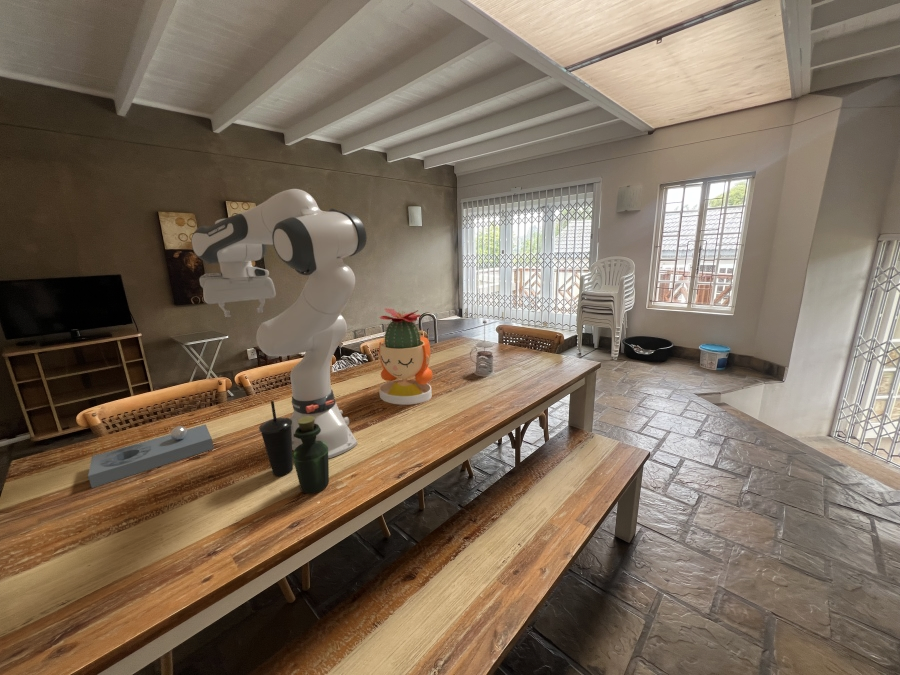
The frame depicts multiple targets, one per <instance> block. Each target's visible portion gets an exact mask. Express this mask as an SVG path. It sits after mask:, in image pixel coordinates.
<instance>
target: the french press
mask: <svg viewBox="0 0 900 675" xmlns="http://www.w3.org/2000/svg"><path fill="white" fill-rule="evenodd" d="M487 323H488V322H487V320H482V324H484V326H483V327H484V329H483V330H484V333H483V334H484V336H483V338H484V340H481V341H479V342H477V343H475V346H476V347H473V348H472V349H471V350H470V352H469V358H470V361H471V362H473V363H474V364H475V371H473V372H474V375H476V376H478V377H491V376H494V375H495V374H496V372H495V371H494V355H493V352H492V351H490V350H486V348H493V346H494V344H493V343H492V342H491V341H488V340H486V324H487ZM477 347H478V348H482V349H483V348H484V349H483V350H479V351H477V350H478V348H477ZM474 350H475V351H477V352H476V356H475V357H476V361H474V360H473V359H472V356H471V355H472V353H473V351H474Z"/></svg>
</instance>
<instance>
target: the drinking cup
mask: <svg viewBox="0 0 900 675" xmlns="http://www.w3.org/2000/svg"><path fill="white" fill-rule="evenodd" d="M270 406H271V412H272V418H271V419H269V420H266V421H264V422H263V423H261V424H260V425H259V428H258V430H259V432H260V433H261V436H262V440H263V443H264V447H265V451H266V454H267V458H268V460H269V464H270V468H271V470H272V472H271V473H272V474H273V476H275V477H283V476H287V475H289V474H290V473H291V472H292V471H293V469H294V461H293V457H292V455H293V450H292V432H291V425H292V420H291V419H289V418H290V417H289V418H288V417H277V414H276V408H275V402H274V400H271V401H270Z"/></svg>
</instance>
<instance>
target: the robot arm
mask: <svg viewBox="0 0 900 675" xmlns="http://www.w3.org/2000/svg"><path fill="white" fill-rule="evenodd" d="M367 239H368V238H367V231H366V228H365V225H364V223H363V222H362V220H361V219H360V218H359V217H358V216H356V215H355V214H353V213H349V212H346V211H340V210H338V209H335V208H330V209H329V210H328V211H324V210H321V209H320V207H319V206H318V204H317V201H316V200H315V198H314V197H313V196H312V195H311V194H310V193H308V192H307V191H305V190H303V189H299V188H291V189H286V190H283V191H280V192H278V193H276V194H273V195H272V196H270V197H269V198H267V199H266V200H264V201H263V202H262V203H260V204H258V205H256V206H254V207H251V208H249V209H247V210H245V211H241V212H240V213H236V214H234V215H231V216H228V217H224V218H219V219H218V220H216V221H214V224H212V225H210V226H202V225H200V226H199V227H198V228H197V229H195V231H194V232H193V233H192V236H191V248H192V251H193V253H194V254H195V256H196V257H197V258H199V259H200V260H201V261H203V262H204V263H206V264H208V265H209V264H211V265H212V264H218V263H219V264H218V265H219V269H220V272H214V273H213V272H212V273H204V274H203V275H201V276H200V277H199V280H198V281H199V285H200V287H201V288H202V290H203V293H202V294H203V301H204V302H205V303H206V304H207V305H213V304H214V305H215V304H218V307H219V308H220V309H221V310H222V311H223V313H224V317H225V318H227V317H232V315H231V311H230V310H228V309H226V308H225V307H226V306H225V305H226V304H225V303H234V302H235V303H236V302H244V301H255V300H258V302H259V306H258V307H256V313H257V314H261V313H262V314H263V313H264V308H263V307H264V305H265V304H266V299H267V300H268V299H274V298H275V297H276V294H277V293H276V289H275V288H276V287H275V284H274V282H273V279H272V278H270V271H269V270H268V269H264V268H260V267H258V266H253V263H252V262H256V261H259V260H260V261H261V260H262V259H263V258H264V257H265V255H266V253H267V250H268V249H267V248H268V247H267V245H271V246H272V245H273V248H274V251H275V252H276V255H277V256H278V257H279V259H280V260H281V261H282V262H284V264H286V265H287V266H288V267H289V268H291V269H294V270H295V271H296V272H297V273H298V274H300V275H303V276H308V279H307V281H306V282H305V284H304V286H303V288H302V291H301V293H300V295H299V296H298V297H297V300H296V301H295V302H294V303H293V304H292V305H290V306H289V307H288V308H286V309H285V310H284V311H282V312H281V313H280V314H278V315H276V316H275V317H273V318H271V319H269V320H266V321H263V322H262V323H260V325H259V326H258V329H257V330H256V333H255V334H256V335H255V339H256V344H257V347H258V348H259V349H260V350H261V352H262V353H263V354H265V355H266V356H268V357H287V356H293V355H296V354H301V353H304V355H303V357H302V359H300V361H299V362H298V363H297V364H296V365H294V366H293V368H292V370H291V371H290V375H289V378H290V384H291V390H292V396H291V405H292V409H293V412H292V414H291V415H290V416H289V419H291V420H292V425H291V432H292V451H294V450H295V449H296V448H297V447H298V446H299V445H301V444H302V441H301V439H298V438H296V437H295V431H296V429H297V428H298V427H299V424H298V420H299V419H300V418H302V417H305V416H313V417H315V422H314V423H315V424H318V425H319V427H320V429H321V432H320V433H319V434H318V435H316V440H317V441H322V442H324V443H325V444H326V445H327V447H328V460H330V459H331V458H335V457H337V456H339V455H341V454H344V453H347V452H348V451H349V450H351V449H352V448H355V446H357V444H358V441H357V439H356V437H355V436H354V433H352V430H351V429H350V428H349V426H348V425H349V424H350V419H349V417H348V416H345V417H344V416H343V415H342V414H344V413H343V410H342V409H339V407H338V404H337V401H336V399H335V393H334V391H333V389H332V385H331V363H332V359H333V357H334V354H335V352H336V350H337V348H338V346H340V344H341V343H342V342H343V340H345V338H346V336H347V333H348V325H347V321H346V319H345V318H344V316H343V315H342V314H343V311H344V310H345V308H346V307H347V305H348V303H349V301H350V299H351V297H352V296H353V295H352V294H353V292H354V289H355V285H356V276H355V275H356V274H355V273H354V271H353V269H352V268H351V267H350V266H349V265H348V264H346V262H344V259H345V258H348V257H352V256H353V257H354V256H355V255H357V254H360V252H362V251H363V249H364V248H365V247H366V244H367Z"/></svg>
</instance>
